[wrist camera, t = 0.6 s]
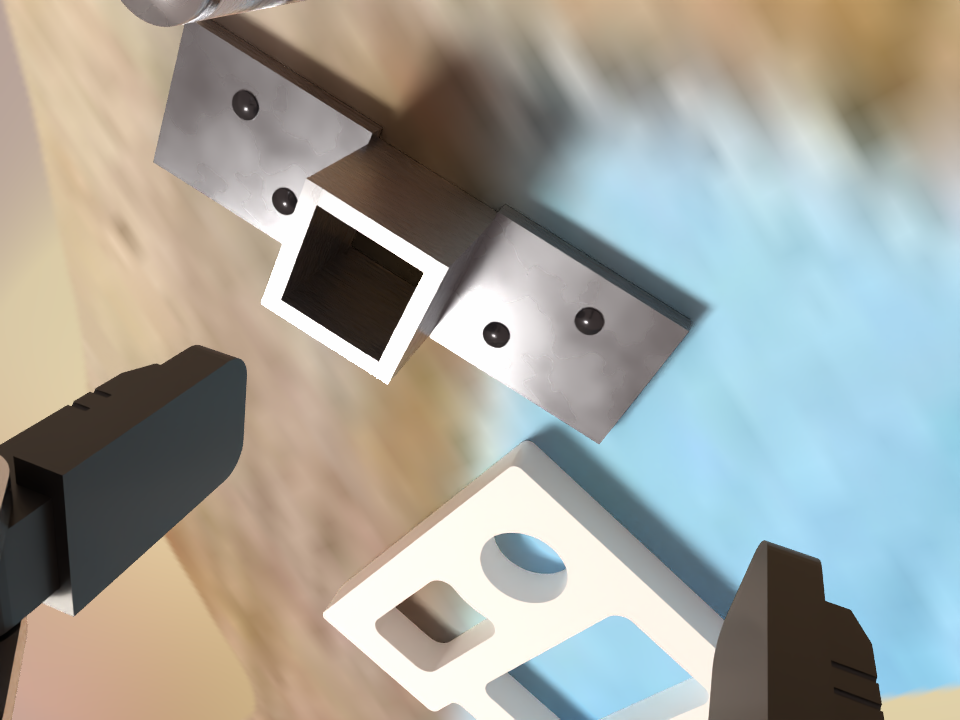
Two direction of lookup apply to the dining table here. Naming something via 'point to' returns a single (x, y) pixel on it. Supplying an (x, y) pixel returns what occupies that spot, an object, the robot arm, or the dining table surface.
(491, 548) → the holder
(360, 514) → the dining table surface
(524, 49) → the dining table surface
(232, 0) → the pin
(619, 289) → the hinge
